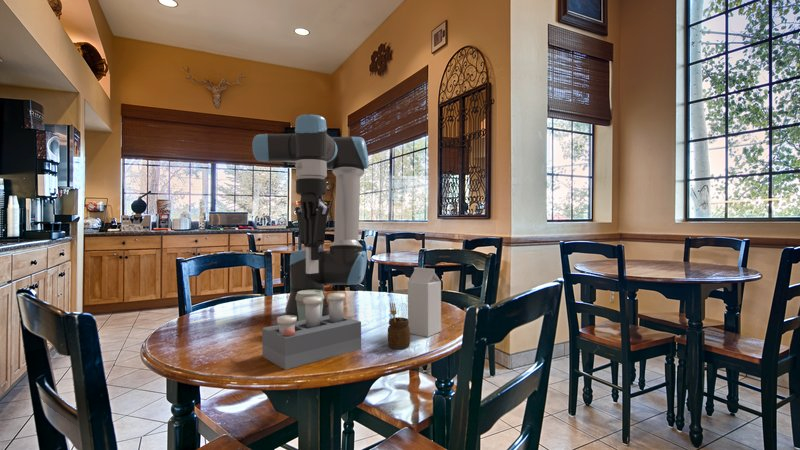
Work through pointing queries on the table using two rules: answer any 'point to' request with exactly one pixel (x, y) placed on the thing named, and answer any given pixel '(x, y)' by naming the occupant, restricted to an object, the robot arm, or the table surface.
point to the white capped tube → (286, 322)
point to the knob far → (336, 306)
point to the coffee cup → (301, 305)
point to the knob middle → (312, 311)
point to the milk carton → (424, 302)
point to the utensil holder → (398, 331)
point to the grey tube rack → (310, 342)
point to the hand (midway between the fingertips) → (312, 273)
